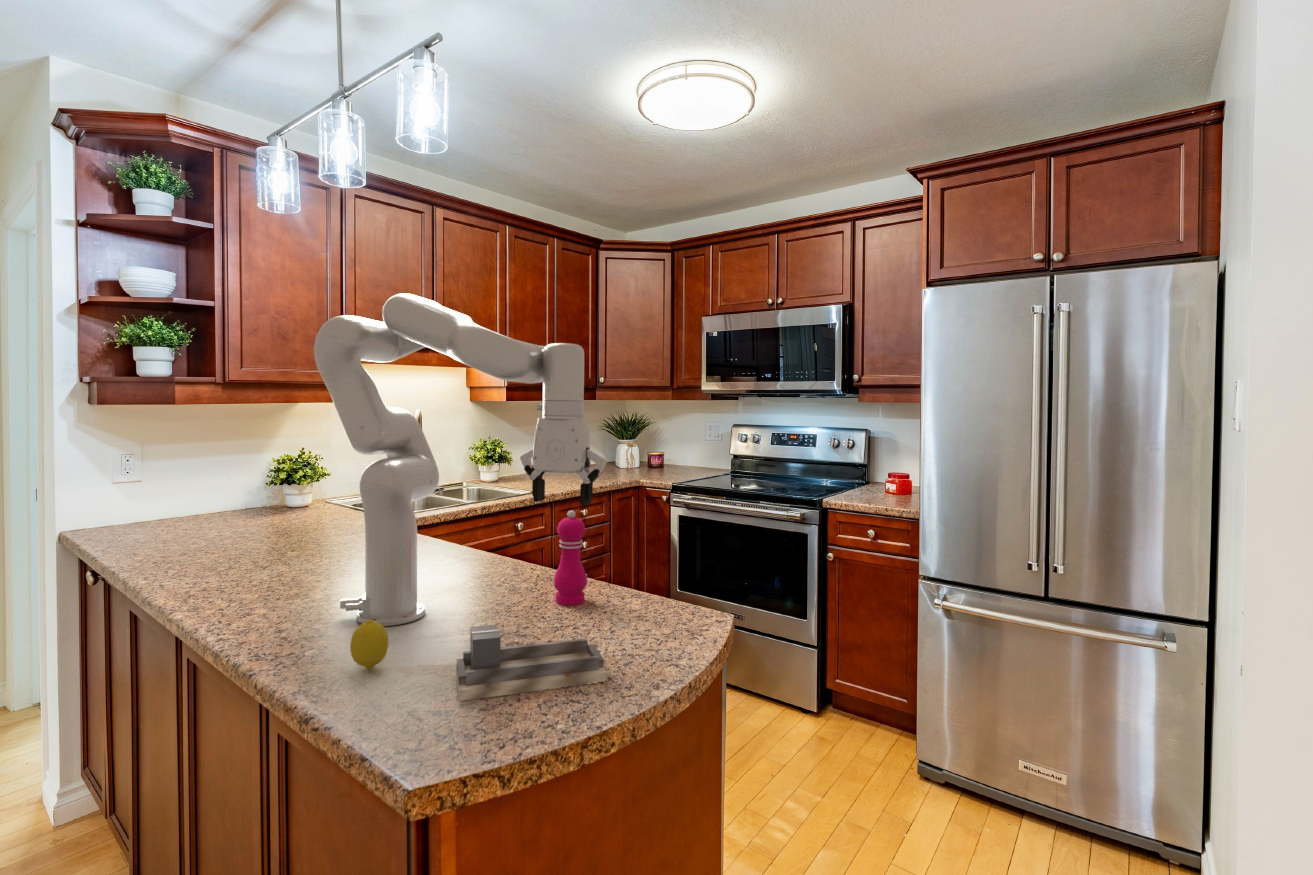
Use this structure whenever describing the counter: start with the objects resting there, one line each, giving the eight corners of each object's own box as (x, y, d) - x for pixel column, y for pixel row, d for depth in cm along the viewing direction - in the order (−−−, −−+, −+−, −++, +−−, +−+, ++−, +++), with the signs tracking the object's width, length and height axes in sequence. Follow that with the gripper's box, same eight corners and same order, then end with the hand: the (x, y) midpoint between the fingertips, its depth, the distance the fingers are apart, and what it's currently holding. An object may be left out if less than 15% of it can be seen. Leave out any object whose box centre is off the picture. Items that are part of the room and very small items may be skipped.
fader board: (459, 700, 92) (459, 677, 92) (456, 670, 103) (456, 649, 102) (607, 681, 100) (607, 659, 100) (590, 655, 110) (590, 635, 110)
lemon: (358, 662, 105) (358, 614, 105) (393, 662, 105) (393, 614, 105) (344, 676, 99) (344, 626, 99) (381, 676, 100) (381, 625, 100)
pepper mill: (580, 607, 135) (582, 513, 134) (548, 605, 137) (549, 512, 136) (590, 597, 143) (592, 508, 142) (560, 595, 144) (561, 506, 143)
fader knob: (472, 679, 95) (472, 639, 95) (470, 664, 101) (470, 626, 100) (500, 676, 97) (500, 636, 96) (496, 661, 102) (496, 623, 102)
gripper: (511, 409, 118) (510, 502, 119) (597, 412, 112) (596, 508, 113) (532, 409, 125) (531, 497, 126) (614, 411, 120) (612, 503, 120)
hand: (562, 502), depth 120 cm, fingers open, 9 cm apart
